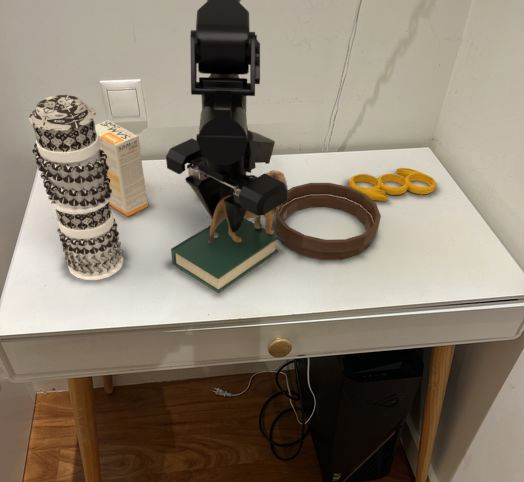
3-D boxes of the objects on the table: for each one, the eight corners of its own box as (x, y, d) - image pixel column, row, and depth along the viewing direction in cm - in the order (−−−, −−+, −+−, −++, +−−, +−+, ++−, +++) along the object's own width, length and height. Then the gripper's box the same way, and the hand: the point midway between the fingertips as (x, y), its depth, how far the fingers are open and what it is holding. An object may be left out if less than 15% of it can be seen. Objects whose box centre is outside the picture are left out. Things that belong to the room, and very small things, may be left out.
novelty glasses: (442, 201, 104) (426, 173, 111) (444, 193, 103) (428, 166, 110) (353, 203, 103) (343, 175, 109) (355, 195, 101) (344, 167, 108)
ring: (252, 231, 95) (253, 211, 92) (314, 191, 105) (317, 172, 102) (336, 276, 88) (339, 256, 85) (394, 229, 97) (399, 209, 94)
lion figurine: (270, 217, 94) (273, 163, 89) (292, 228, 91) (296, 173, 86) (198, 240, 86) (196, 182, 81) (219, 253, 83) (218, 194, 78)
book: (172, 264, 89) (170, 248, 87) (232, 226, 96) (232, 211, 94) (218, 293, 84) (218, 277, 82) (278, 251, 92) (279, 236, 90)
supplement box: (149, 206, 99) (140, 135, 90) (127, 217, 97) (115, 145, 87) (120, 188, 103) (109, 118, 94) (98, 198, 101) (84, 127, 91)
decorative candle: (55, 258, 89) (8, 98, 70) (108, 238, 93) (77, 82, 74) (80, 289, 84) (37, 127, 66) (136, 267, 88) (110, 108, 70)
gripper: (317, 129, 75) (306, 228, 86) (216, 87, 83) (218, 183, 94) (262, 159, 69) (258, 261, 80) (159, 111, 77) (168, 209, 88)
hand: (225, 225), depth 86 cm, fingers closed on lion figurine, 4 cm apart
